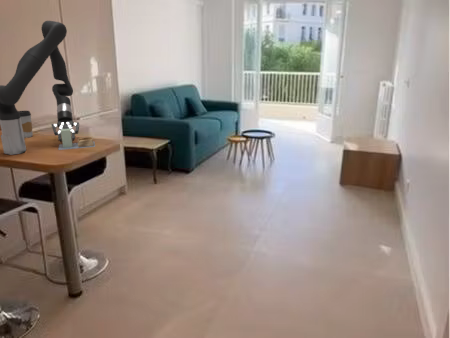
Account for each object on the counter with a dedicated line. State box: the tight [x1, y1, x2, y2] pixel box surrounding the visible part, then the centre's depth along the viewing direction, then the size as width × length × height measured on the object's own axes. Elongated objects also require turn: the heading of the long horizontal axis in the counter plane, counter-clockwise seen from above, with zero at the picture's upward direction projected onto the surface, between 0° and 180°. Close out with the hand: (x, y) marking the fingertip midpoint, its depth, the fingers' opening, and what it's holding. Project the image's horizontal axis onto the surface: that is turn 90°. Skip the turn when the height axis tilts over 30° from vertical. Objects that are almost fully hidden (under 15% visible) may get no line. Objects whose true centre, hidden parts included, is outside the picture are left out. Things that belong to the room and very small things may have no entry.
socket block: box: [77, 136, 94, 147], centre depth 199 cm, size 8×8×3 cm
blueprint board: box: [58, 140, 96, 151], centre depth 198 cm, size 18×12×1 cm, turn 110°
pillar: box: [61, 129, 74, 148], centre depth 195 cm, size 4×4×9 cm
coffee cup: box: [17, 110, 34, 139], centre depth 219 cm, size 8×8×15 cm
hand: (66, 140), depth 193 cm, fingers open, 5 cm apart
